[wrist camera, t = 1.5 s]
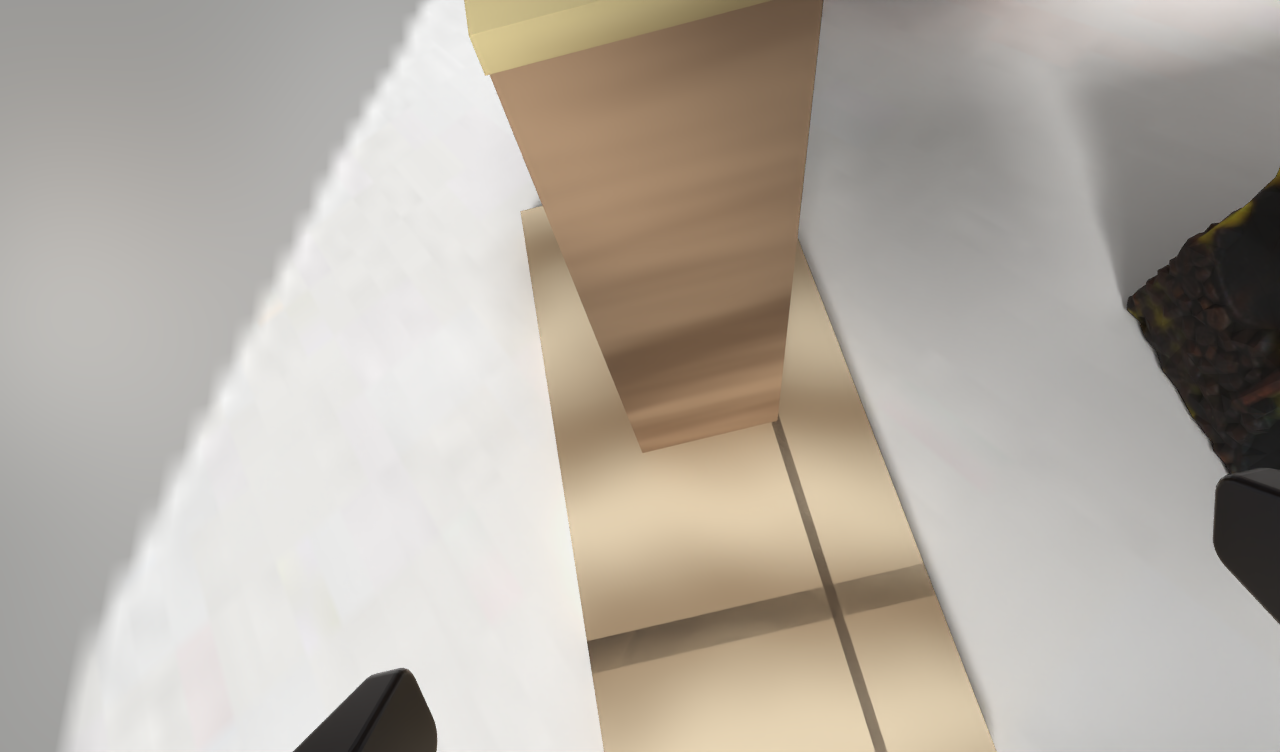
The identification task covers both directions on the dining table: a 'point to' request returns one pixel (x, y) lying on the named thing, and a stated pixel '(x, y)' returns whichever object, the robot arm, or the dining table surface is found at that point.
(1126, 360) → the dining table surface
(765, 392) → the tall wooden pillar
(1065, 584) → the dining table surface
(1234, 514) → the robot arm
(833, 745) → the board
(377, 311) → the dining table surface
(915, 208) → the dining table surface
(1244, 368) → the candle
